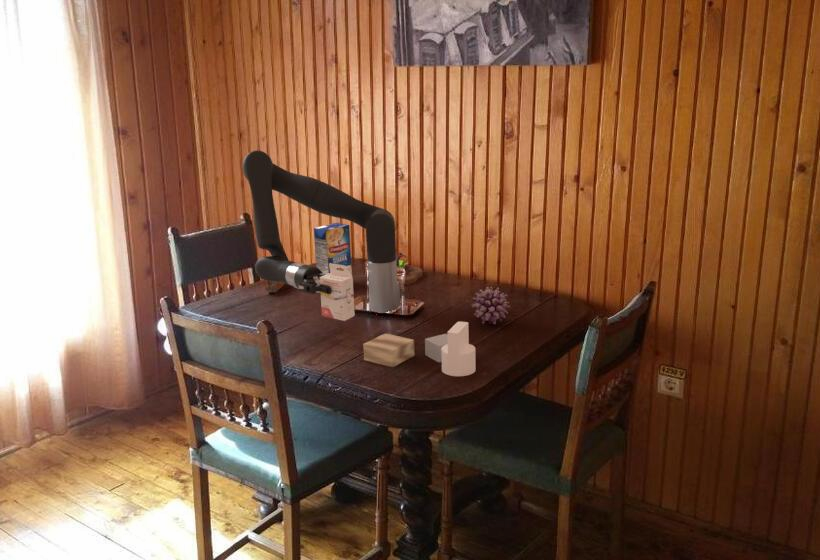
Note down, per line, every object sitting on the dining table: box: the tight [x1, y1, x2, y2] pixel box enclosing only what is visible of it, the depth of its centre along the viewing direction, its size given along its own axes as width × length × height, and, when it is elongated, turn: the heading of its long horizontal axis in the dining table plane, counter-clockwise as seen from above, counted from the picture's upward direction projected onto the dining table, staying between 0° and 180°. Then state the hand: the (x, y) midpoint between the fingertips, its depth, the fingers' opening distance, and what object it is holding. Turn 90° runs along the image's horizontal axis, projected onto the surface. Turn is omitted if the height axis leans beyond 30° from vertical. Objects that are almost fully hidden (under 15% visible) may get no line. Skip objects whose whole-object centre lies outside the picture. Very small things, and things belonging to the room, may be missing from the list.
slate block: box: [424, 333, 448, 364], centre depth 226 cm, size 7×7×5 cm
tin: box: [263, 280, 285, 294], centre depth 293 cm, size 15×3×8 cm, turn 168°
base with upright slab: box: [441, 321, 477, 377], centre depth 216 cm, size 9×9×12 cm
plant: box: [396, 252, 424, 286], centre depth 303 cm, size 20×20×11 cm
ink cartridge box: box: [320, 263, 355, 322], centre depth 229 cm, size 9×5×15 cm, turn 57°
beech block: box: [362, 332, 415, 368], centre depth 226 cm, size 10×10×5 cm
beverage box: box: [313, 222, 353, 274], centre depth 293 cm, size 7×11×22 cm, turn 137°
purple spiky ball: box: [471, 286, 511, 325], centre depth 250 cm, size 12×12×12 cm
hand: (339, 287), depth 227 cm, fingers closed on ink cartridge box, 6 cm apart
